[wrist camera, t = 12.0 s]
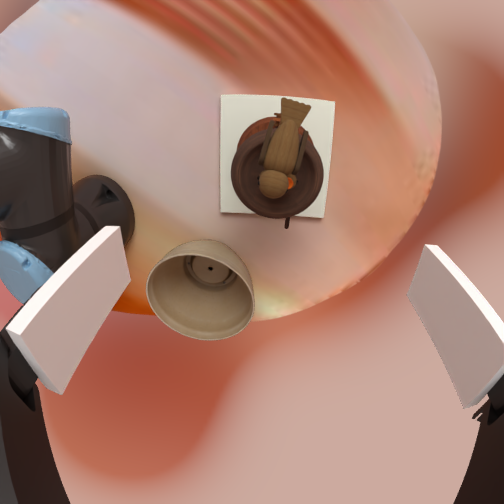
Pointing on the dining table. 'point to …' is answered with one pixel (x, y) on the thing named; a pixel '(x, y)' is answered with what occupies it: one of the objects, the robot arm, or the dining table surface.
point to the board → (258, 107)
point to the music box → (278, 164)
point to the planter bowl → (202, 291)
